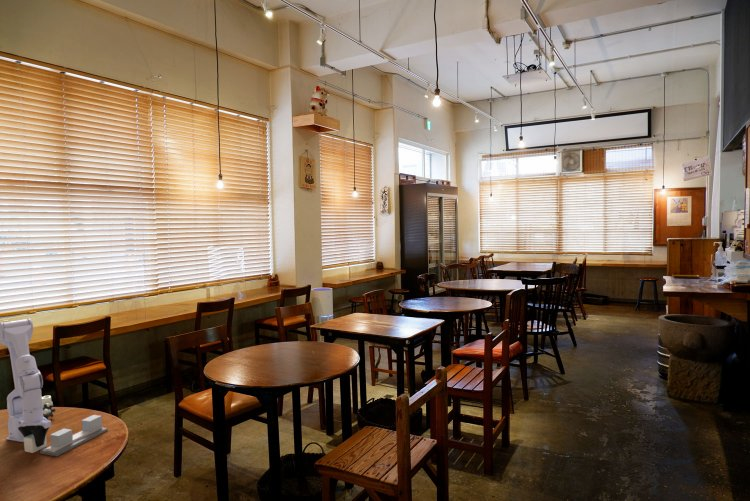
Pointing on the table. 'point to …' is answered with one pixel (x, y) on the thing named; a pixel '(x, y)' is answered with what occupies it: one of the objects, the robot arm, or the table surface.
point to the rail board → (74, 436)
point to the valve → (47, 406)
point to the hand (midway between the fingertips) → (35, 444)
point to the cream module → (32, 444)
